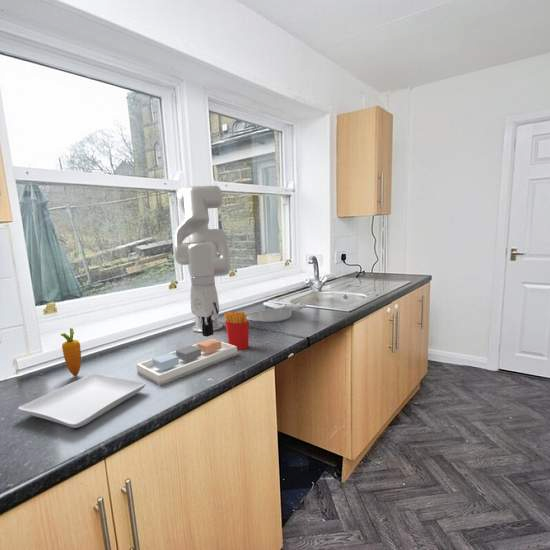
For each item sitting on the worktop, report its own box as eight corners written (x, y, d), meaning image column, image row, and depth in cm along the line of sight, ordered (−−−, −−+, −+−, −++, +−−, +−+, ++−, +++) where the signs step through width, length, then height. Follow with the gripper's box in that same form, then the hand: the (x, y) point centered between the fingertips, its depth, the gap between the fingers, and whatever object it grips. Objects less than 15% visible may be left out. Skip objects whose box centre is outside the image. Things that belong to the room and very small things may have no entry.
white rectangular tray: (137, 373, 106) (136, 364, 106) (212, 346, 126) (211, 338, 125) (159, 385, 96) (158, 375, 96) (237, 354, 116) (236, 346, 116)
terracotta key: (197, 350, 116) (197, 343, 116) (211, 345, 120) (211, 338, 120) (207, 353, 113) (206, 346, 112) (221, 348, 116) (220, 341, 116)
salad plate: (149, 392, 93) (148, 380, 93) (77, 438, 74) (74, 423, 74) (95, 382, 102) (93, 371, 102) (17, 421, 83) (15, 408, 83)
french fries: (252, 346, 123) (249, 311, 121) (245, 350, 119) (242, 314, 118) (231, 343, 128) (228, 309, 126) (224, 347, 124) (221, 312, 122)
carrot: (71, 381, 104) (64, 332, 102) (63, 378, 106) (55, 331, 104) (88, 374, 108) (81, 328, 106) (79, 372, 110) (72, 326, 108)
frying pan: (278, 309, 177) (276, 291, 176) (325, 320, 151) (324, 299, 150) (239, 319, 163) (238, 299, 162) (285, 333, 137) (283, 309, 136)
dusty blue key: (153, 366, 105) (152, 358, 105) (169, 360, 109) (168, 352, 109) (162, 370, 101) (161, 362, 101) (179, 364, 105) (178, 356, 105)
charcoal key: (176, 357, 111) (175, 350, 110) (191, 352, 115) (191, 345, 114) (186, 361, 107) (185, 354, 107) (201, 356, 111) (200, 348, 111)
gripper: (180, 281, 116) (186, 334, 118) (206, 284, 105) (212, 342, 108) (199, 278, 121) (204, 329, 124) (226, 280, 111) (231, 336, 113)
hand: (208, 335), depth 116 cm, fingers closed
